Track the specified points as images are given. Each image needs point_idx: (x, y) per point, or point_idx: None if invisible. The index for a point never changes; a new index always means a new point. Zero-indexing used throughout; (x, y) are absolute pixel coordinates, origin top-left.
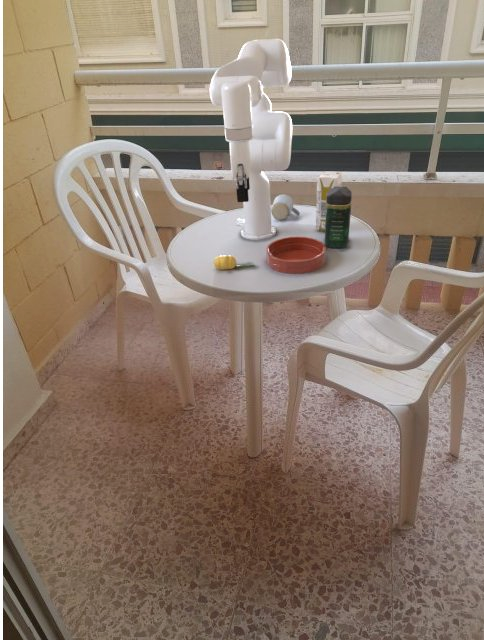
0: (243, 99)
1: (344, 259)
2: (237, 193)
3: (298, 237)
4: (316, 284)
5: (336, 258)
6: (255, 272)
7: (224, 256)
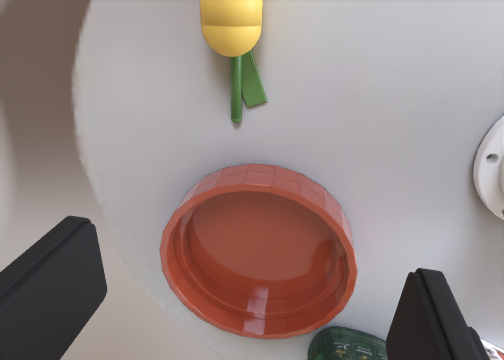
0: None
1: (254, 339)
2: (8, 274)
3: (343, 293)
4: (128, 260)
5: None
6: (200, 119)
7: (221, 4)
